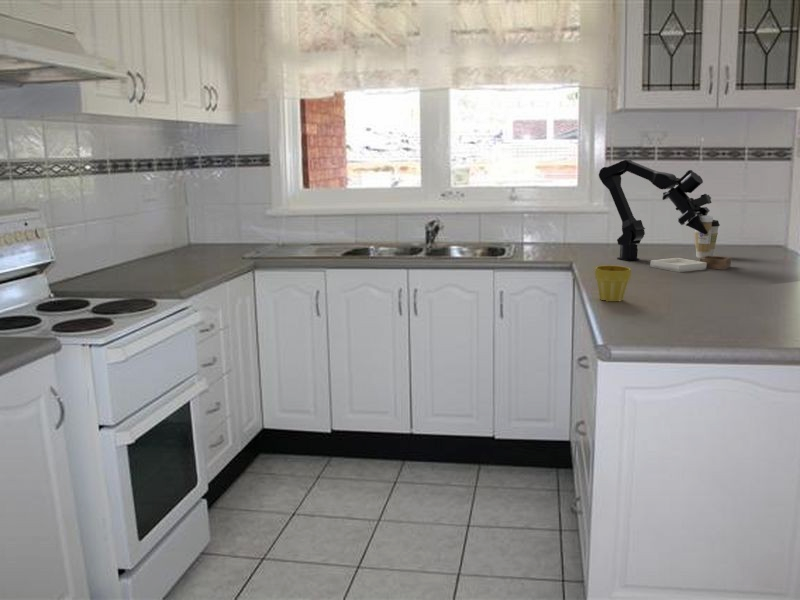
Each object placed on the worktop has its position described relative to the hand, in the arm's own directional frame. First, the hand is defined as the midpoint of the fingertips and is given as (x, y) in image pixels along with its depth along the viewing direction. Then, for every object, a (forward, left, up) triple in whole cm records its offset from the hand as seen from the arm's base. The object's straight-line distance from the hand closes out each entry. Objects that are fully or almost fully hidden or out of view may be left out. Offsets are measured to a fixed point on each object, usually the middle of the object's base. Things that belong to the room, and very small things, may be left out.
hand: (708, 233), depth 288 cm
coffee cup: (-20, +22, -13) cm, 33 cm away
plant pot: (+28, -72, -13) cm, 78 cm away
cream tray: (-5, -9, -13) cm, 17 cm away
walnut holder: (0, +5, -13) cm, 14 cm away
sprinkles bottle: (-2, 0, -7) cm, 8 cm away
